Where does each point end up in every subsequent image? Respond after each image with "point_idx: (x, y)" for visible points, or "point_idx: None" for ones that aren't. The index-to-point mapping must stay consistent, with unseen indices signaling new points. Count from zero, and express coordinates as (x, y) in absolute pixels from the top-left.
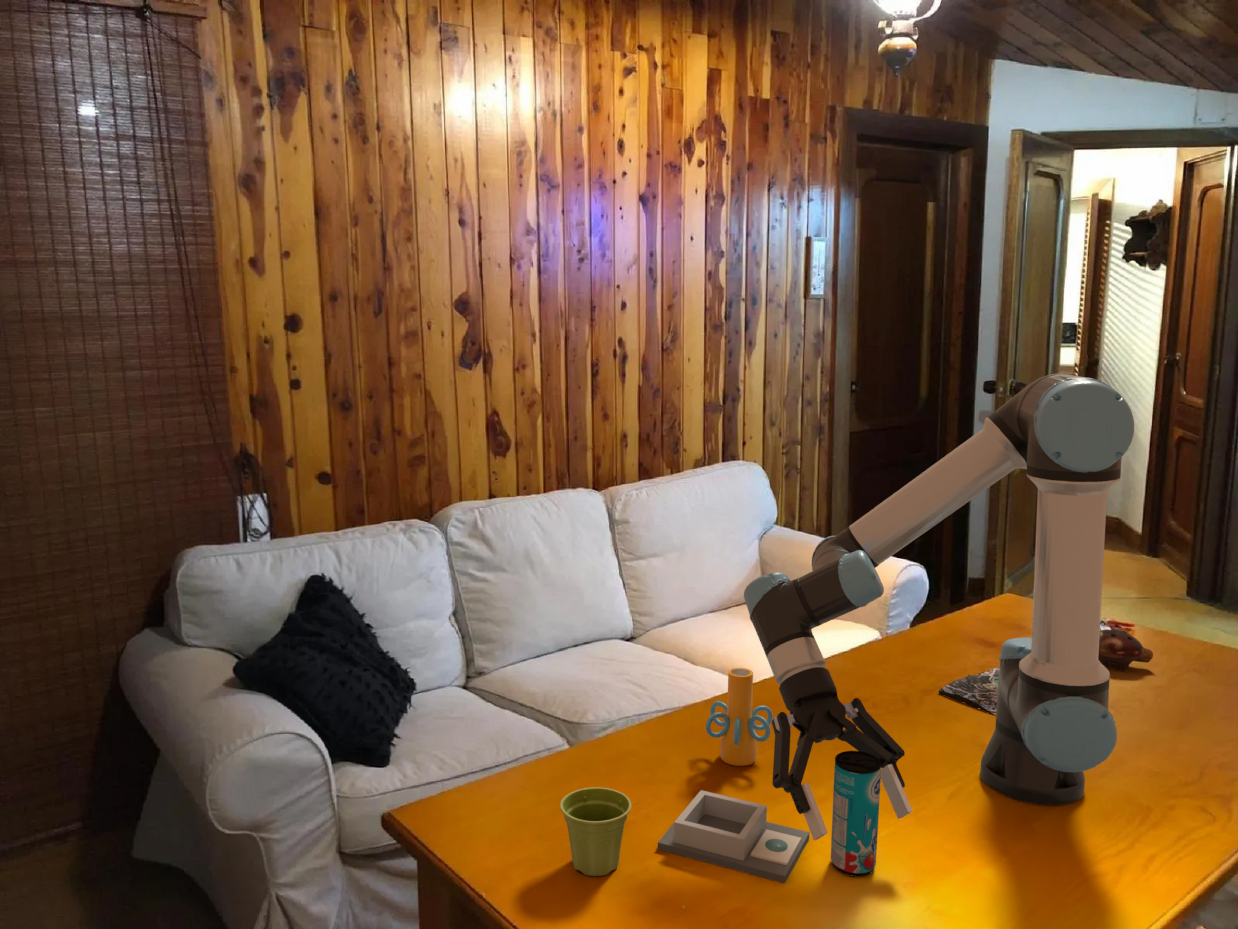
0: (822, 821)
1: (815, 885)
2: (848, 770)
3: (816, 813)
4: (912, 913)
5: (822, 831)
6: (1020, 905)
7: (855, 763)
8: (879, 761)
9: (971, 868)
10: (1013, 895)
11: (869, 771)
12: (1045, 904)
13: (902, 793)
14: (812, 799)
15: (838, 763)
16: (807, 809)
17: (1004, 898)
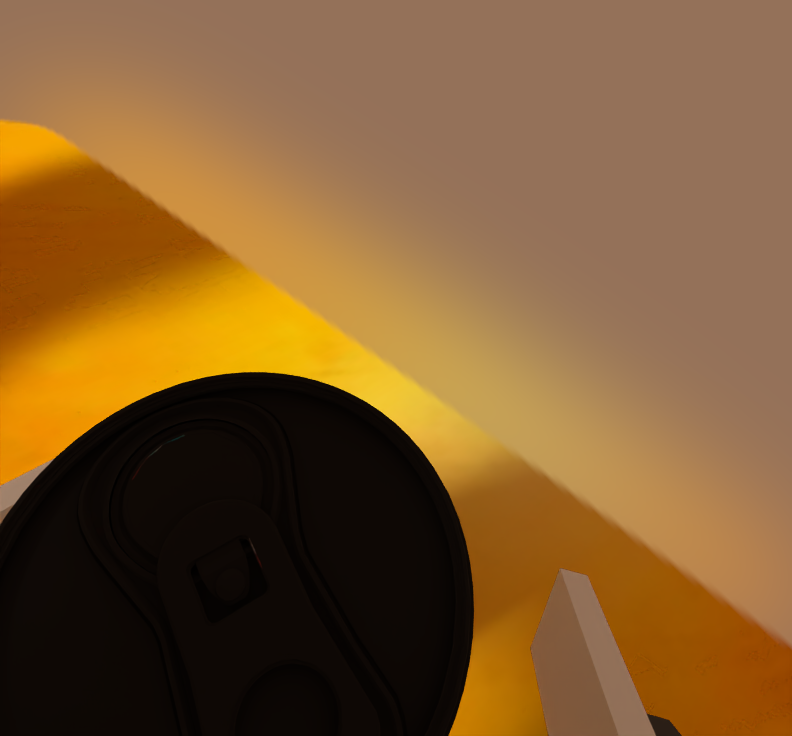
0: (580, 607)
1: (499, 635)
2: (456, 529)
3: (613, 647)
4: (378, 383)
5: (588, 582)
6: (165, 262)
7: (292, 572)
8: (87, 441)
9: (70, 392)
10: (134, 284)
11: (335, 391)
12: (125, 237)
13: (30, 481)
14: (630, 724)
15: (459, 687)
16: (647, 715)
17: (161, 290)
